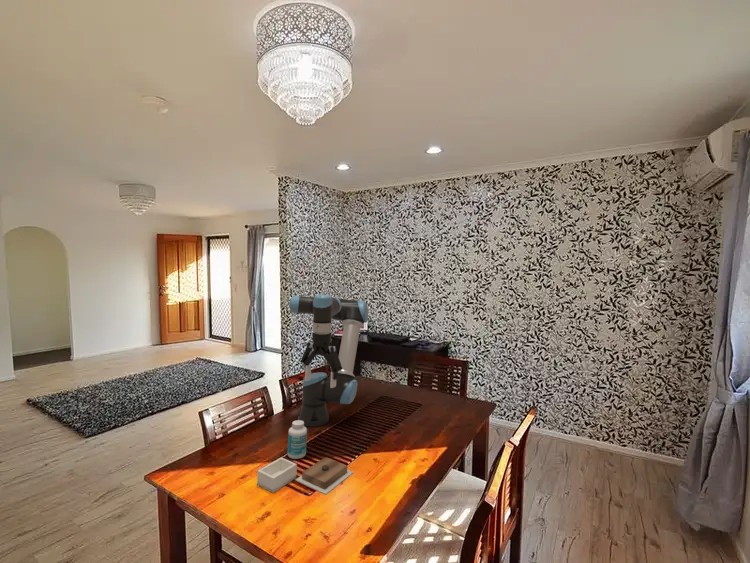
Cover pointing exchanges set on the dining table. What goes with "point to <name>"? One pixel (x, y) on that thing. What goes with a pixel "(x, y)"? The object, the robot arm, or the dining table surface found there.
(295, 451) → the pill bottle
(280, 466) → the dish
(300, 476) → the mat
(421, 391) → the dining table surface
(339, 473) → the cover
